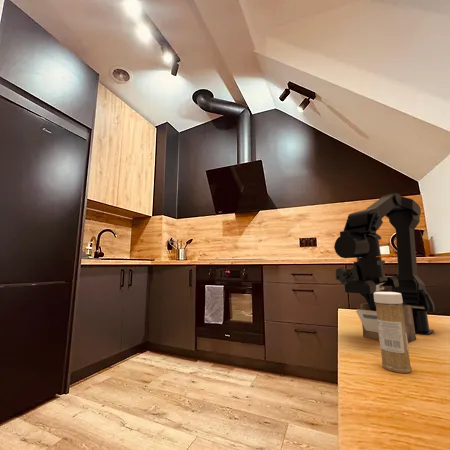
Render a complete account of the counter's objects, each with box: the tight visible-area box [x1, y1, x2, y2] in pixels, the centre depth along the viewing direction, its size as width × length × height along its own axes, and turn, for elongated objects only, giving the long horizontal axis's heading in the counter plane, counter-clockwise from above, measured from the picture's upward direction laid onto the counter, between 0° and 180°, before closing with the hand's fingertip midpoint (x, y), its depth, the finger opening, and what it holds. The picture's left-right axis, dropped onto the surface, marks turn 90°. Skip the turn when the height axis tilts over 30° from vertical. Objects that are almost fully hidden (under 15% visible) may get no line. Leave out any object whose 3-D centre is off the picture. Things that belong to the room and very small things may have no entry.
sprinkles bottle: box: [374, 291, 413, 374], centre depth 46 cm, size 5×5×13 cm
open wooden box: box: [359, 302, 417, 344], centre depth 66 cm, size 8×10×8 cm
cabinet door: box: [356, 308, 379, 333], centre depth 63 cm, size 1×8×7 cm
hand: (376, 318), depth 63 cm, fingers closed, pressing on cabinet door
